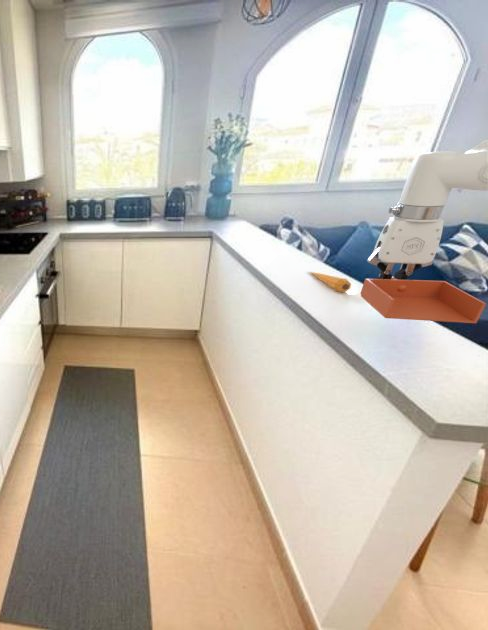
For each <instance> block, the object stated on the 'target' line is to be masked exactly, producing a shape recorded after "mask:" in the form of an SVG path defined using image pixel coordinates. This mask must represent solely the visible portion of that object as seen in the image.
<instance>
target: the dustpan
mask: <svg viewBox="0 0 488 630" xmlns="http://www.w3.org/2000/svg"><path fill="white" fill-rule="evenodd" d="M379 276H380V273H379V275H378V277H379ZM360 297H361V298H362V299H363V300H364V301H365V302H366V303H368V304H369V305H370V306H371V307H372V308H373V309H374V310H376V312H378V313H379V314H380V315H381V316H382V317H383V318H384V319H394V320H410V321H412V320H413V321H427V322H428V321H429V322H431V321H432V322H447V323H462V324H463V323H464V324H477V322H478V321H479V319H480V317H481V315H482V313H483V311H484V309H485V307H486V306H487V303H486V302H484V301H483V300H481V299H478V298H477V297H476V296H473V295H472V294H470V293H468V292H466V291H465V290H463V289H461V288H459V287H457V286H455V285H453V284H452V283H449V282H448V281H446V280H427V279H426V280H423V279H406V280H398V279H396V278H395V277H394V275H392V279H379V278H364V281H363V284H362V287H361V291H360Z"/></svg>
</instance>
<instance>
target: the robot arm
mask: <svg viewBox="0 0 488 630" xmlns="http://www.w3.org/2000/svg"><path fill="white" fill-rule="evenodd" d="M452 189H461V190H470V191H478V192H479V191H482V192H483V191H488V138H487V139H485V140H483V141H481V142H480V143H478V144H477V145H475V146H474V147H472V148H471V149H469V150H467V151H466V152H463V153H462V152H459V151H453V150H451V151H449V150H445V151H443V150H442V151H426V152H422V153H419V154H418V155H416V156H415V157H414V159H413V161H412V164H411V167H410V169H409V173H408V175H407V178H406V180H405V183H404V186H403V188H402V192H401V194H400V198H399V201H398V203H396V206H391V207H389V208H388V214H393V216H390V217H389V219H388V220H387V221H386V223H385V225H384V227H383V228H382V230H381V232H380V234H379V236H378V238H377V241H376V242H375V246H374V249H373V252H372V253H371V254H370V256H369V257H368V258H367V259H366V262H367V263H369V264H370V265H373V266H375V267H377V268H378V270H379V271H380V273H379V274H380V276H379V275H378V279H392V276H393V277H395V278H396V279H398V280H408V276H410V275H412V274H413V272H415V271H417V270H419V269H421V268H424V267H428V266H432V265H433V263H434V262H433V261H434V259H435V257H436V254H437V252H438V249H439V246H440V242H441V239H442V236H443V235H442V234H443V229H444V219H442V218H441V216H442V213H443V211H444V208H445V206H446V203H447V201H448V199H449V197H450V194H451V191H452ZM395 264H400V268H399V270H396V272H395V274H394V275H393V274H391V273H392V271H393V268H394V266H395Z"/></svg>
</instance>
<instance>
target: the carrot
mask: <svg viewBox="0 0 488 630" xmlns="http://www.w3.org/2000/svg"><path fill="white" fill-rule="evenodd" d="M310 274H312V275H313V276H314V277H315V278H316V279H318V280H319V281H321V282H322V283H324V284H325V285H327V286H329V287H330V288H331V289H333V290H335V291H336V292H339V293H341V292H342V293H344V292H345V293H346V292H348V291H349V290H350V289H351V286H352V283H351V282H350V281H349V280H348V279H347V278H345V277H344V278H343V277H338V276H336V275H329V274H324V273H321V272H320V273H319V272H311V271H310Z"/></svg>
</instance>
